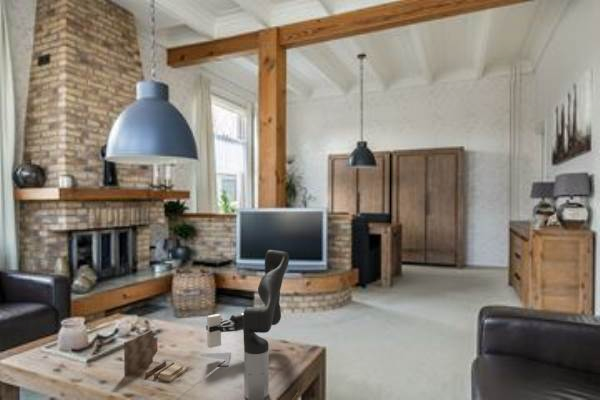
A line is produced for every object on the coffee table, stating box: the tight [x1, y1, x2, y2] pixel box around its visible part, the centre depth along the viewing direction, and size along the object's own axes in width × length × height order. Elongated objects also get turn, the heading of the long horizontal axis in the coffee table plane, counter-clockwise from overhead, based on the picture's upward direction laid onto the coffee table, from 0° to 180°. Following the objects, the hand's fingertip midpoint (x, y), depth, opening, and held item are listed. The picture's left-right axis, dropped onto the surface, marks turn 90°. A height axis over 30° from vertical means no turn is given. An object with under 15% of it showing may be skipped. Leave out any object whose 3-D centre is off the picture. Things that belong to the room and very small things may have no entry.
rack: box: [123, 329, 195, 385], centre depth 171 cm, size 16×23×15 cm
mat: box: [199, 352, 232, 368], centre depth 185 cm, size 14×14×1 cm
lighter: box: [153, 331, 159, 353], centre depth 193 cm, size 8×3×10 cm, turn 105°
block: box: [206, 313, 222, 349], centre depth 185 cm, size 6×2×14 cm, turn 126°
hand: (208, 328), depth 183 cm, fingers closed on block, 2 cm apart
